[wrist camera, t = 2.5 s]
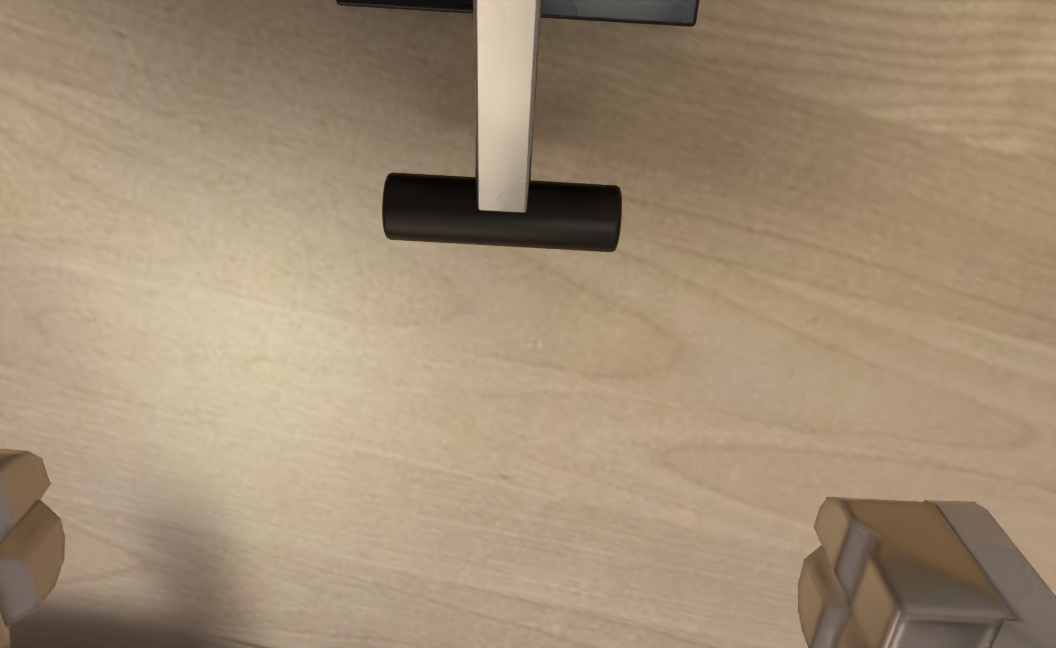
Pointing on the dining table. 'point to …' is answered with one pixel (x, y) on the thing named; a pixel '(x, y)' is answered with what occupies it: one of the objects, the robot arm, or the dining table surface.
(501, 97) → the switch lever
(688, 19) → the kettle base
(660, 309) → the dining table surface
